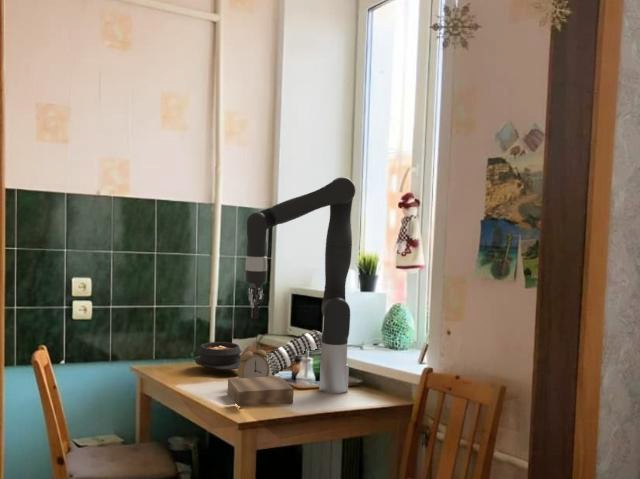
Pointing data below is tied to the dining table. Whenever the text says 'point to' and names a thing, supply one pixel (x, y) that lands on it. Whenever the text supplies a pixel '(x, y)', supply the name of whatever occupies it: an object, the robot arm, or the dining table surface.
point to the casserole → (219, 356)
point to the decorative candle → (292, 351)
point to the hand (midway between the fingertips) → (254, 318)
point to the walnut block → (260, 391)
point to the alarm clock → (253, 364)
